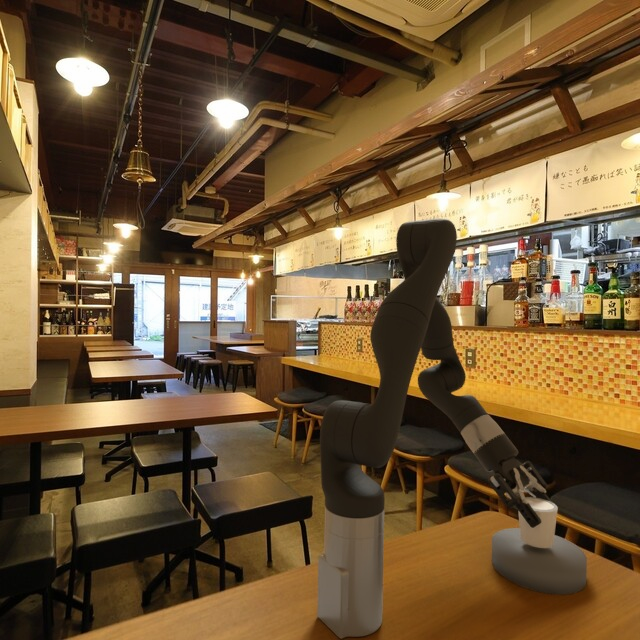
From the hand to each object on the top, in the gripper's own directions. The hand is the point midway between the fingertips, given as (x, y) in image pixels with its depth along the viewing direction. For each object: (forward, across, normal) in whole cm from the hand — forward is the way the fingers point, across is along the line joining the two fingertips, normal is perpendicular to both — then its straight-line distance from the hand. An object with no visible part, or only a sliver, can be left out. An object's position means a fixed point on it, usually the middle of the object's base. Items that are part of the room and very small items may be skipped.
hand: (545, 519), depth 84 cm
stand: (+6, 0, +8) cm, 10 cm away
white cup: (+2, 0, +4) cm, 5 cm away
